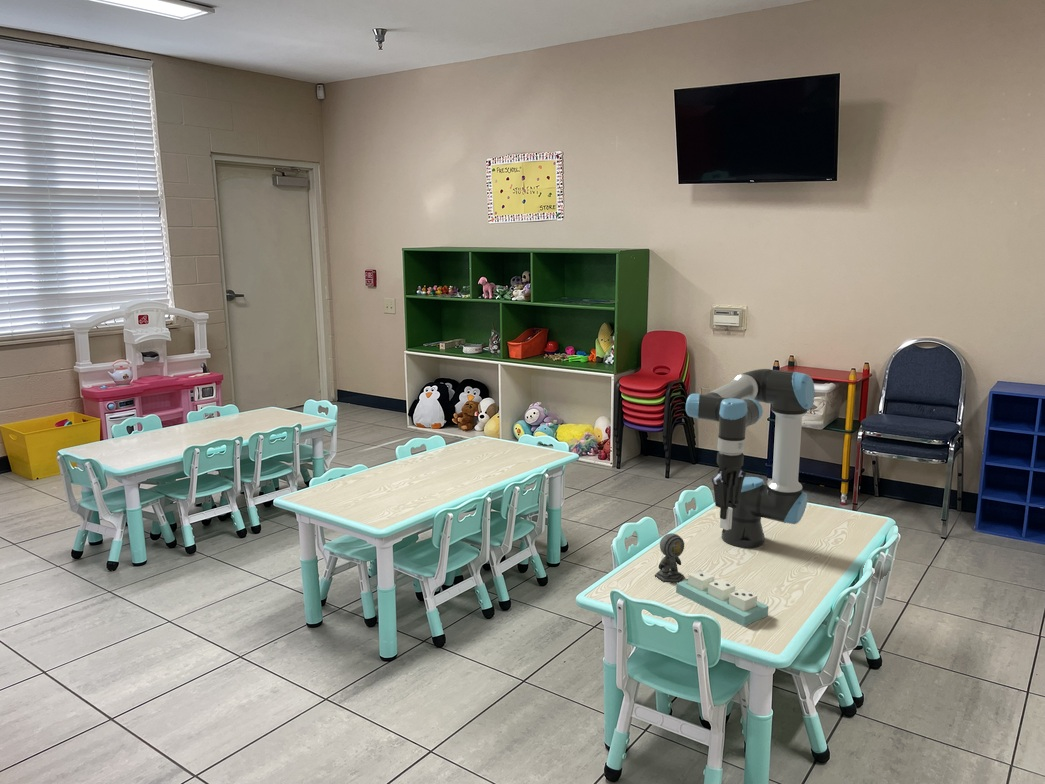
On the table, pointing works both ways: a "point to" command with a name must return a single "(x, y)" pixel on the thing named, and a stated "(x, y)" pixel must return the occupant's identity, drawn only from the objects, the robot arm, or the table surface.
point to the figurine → (670, 558)
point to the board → (722, 605)
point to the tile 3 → (742, 600)
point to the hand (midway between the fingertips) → (725, 528)
